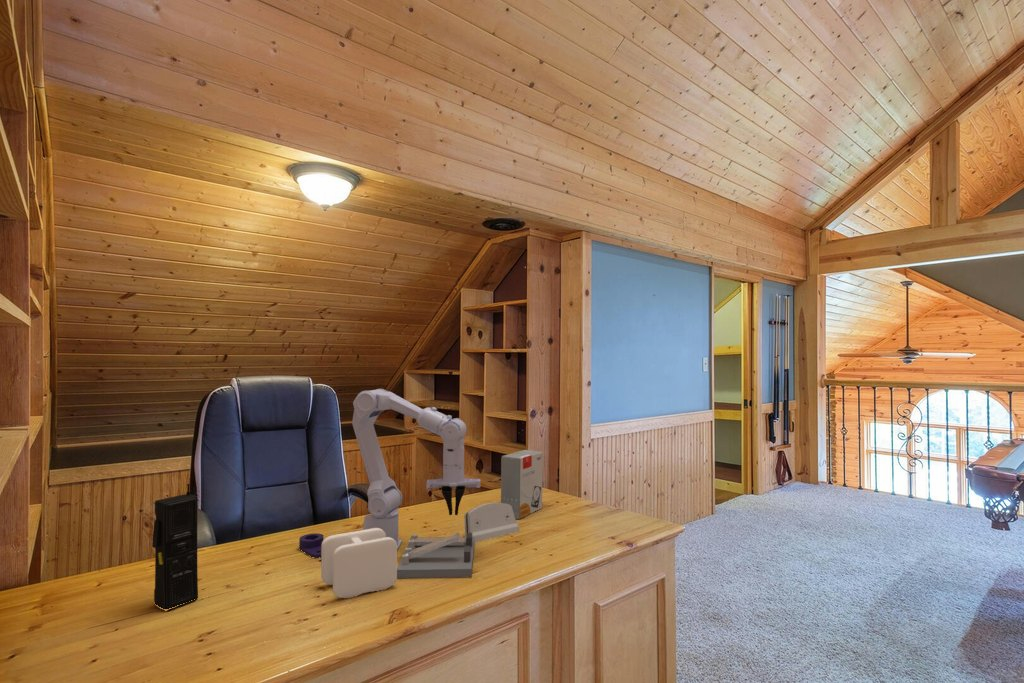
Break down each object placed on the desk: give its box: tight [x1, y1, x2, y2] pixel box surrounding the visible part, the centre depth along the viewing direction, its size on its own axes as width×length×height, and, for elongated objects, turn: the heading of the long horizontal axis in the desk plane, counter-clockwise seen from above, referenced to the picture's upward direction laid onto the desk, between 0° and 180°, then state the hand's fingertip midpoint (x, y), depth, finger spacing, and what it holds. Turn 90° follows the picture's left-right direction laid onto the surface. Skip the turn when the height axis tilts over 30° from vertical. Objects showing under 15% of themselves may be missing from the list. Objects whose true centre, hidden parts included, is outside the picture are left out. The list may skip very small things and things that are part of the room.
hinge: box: [463, 502, 521, 543], centre depth 158 cm, size 17×5×10 cm, turn 123°
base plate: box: [397, 533, 476, 579], centre depth 138 cm, size 18×22×5 cm
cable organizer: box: [320, 528, 398, 599], centre depth 123 cm, size 15×11×12 cm
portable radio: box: [151, 483, 199, 609], centre depth 115 cm, size 8×6×25 cm
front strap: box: [405, 532, 461, 559], centre depth 133 cm, size 15×3×1 cm, turn 92°
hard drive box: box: [500, 449, 544, 520], centre depth 179 cm, size 16×8×20 cm, turn 147°
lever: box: [298, 532, 325, 559], centre depth 145 cm, size 12×6×3 cm, turn 36°
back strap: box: [410, 537, 465, 546], centre depth 143 cm, size 15×3×1 cm, turn 92°
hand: (453, 514), depth 143 cm, fingers closed
